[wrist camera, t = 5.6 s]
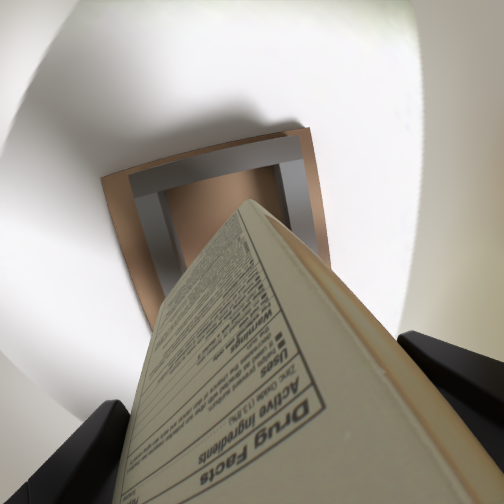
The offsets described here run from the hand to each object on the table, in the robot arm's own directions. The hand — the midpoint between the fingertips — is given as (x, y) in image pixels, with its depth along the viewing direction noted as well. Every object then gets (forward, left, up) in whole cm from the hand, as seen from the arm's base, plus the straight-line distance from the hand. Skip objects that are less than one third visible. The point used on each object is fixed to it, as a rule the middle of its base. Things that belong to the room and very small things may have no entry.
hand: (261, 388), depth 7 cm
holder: (0, 0, -12) cm, 12 cm away
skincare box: (0, 0, -7) cm, 7 cm away
